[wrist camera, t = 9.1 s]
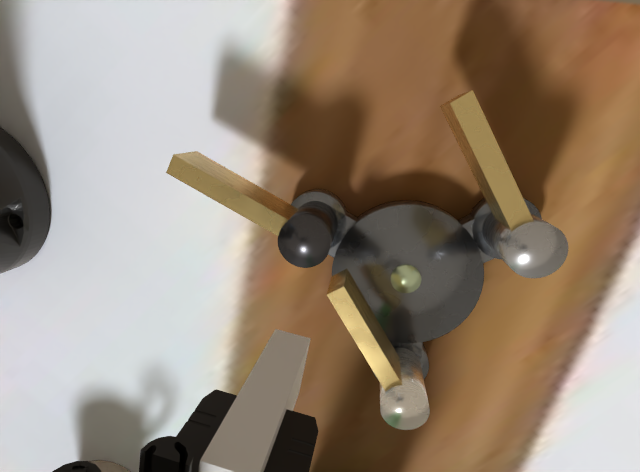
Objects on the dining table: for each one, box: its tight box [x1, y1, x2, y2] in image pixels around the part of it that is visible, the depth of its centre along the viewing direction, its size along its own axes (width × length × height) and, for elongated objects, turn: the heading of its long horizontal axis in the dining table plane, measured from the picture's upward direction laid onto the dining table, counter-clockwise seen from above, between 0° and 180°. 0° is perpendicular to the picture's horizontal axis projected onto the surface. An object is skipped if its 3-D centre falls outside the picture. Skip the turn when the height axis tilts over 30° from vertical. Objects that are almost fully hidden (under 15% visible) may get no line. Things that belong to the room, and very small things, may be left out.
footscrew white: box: [327, 269, 430, 430], centre depth 30 cm, size 12×4×6 cm, turn 31°
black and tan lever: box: [166, 151, 338, 268], centre depth 28 cm, size 12×4×6 cm, turn 61°
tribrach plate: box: [291, 189, 541, 379], centre depth 31 cm, size 20×18×2 cm
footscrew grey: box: [440, 90, 568, 278], centre depth 25 cm, size 12×4×6 cm, turn 31°
